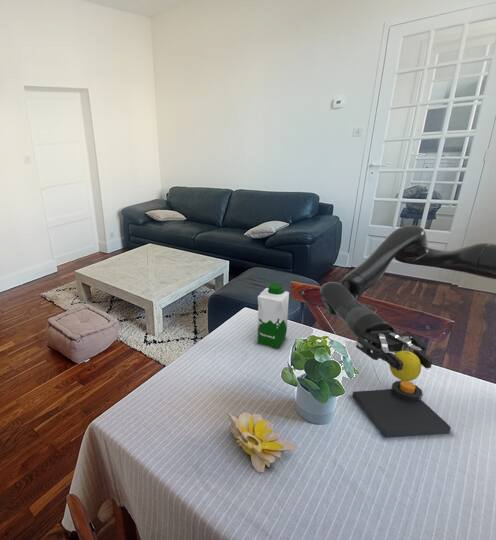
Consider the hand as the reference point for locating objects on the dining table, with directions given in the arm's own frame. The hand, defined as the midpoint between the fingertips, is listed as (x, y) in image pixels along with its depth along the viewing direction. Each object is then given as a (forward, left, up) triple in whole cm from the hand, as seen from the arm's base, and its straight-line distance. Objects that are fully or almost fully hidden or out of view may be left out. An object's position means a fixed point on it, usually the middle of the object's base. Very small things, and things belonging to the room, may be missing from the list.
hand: (415, 365), depth 73 cm
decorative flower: (+35, +4, -17) cm, 39 cm away
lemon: (0, -3, -6) cm, 7 cm away
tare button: (-6, -8, -14) cm, 17 cm away
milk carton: (+17, -39, -17) cm, 45 cm away
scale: (-1, -4, -17) cm, 17 cm away
